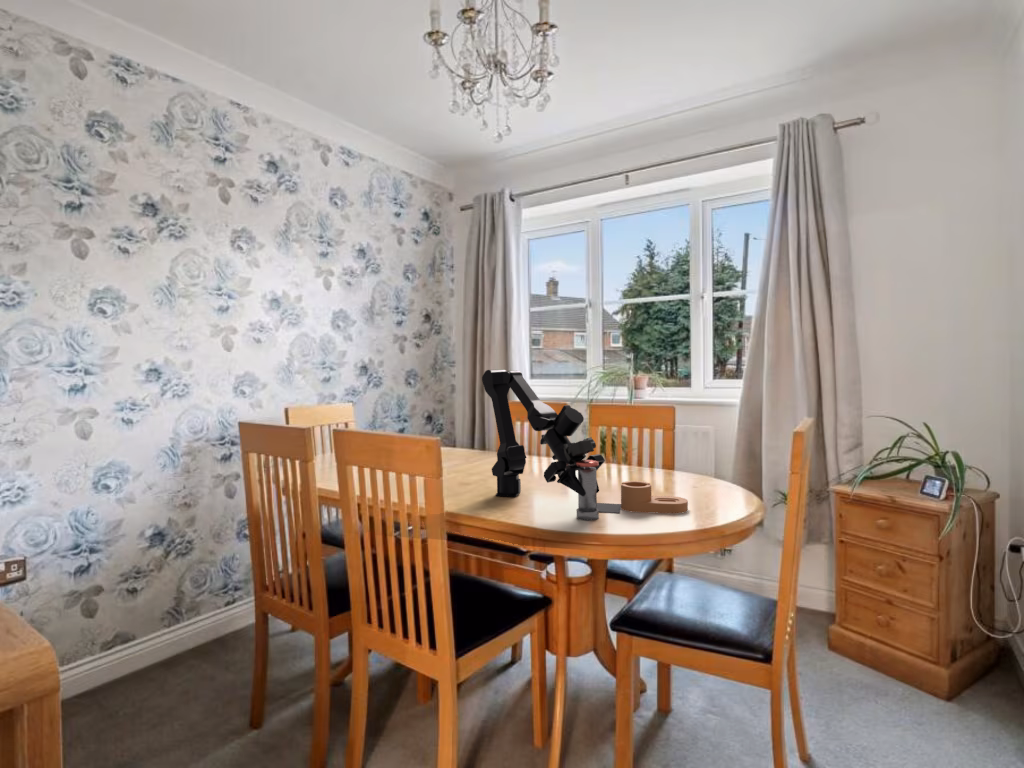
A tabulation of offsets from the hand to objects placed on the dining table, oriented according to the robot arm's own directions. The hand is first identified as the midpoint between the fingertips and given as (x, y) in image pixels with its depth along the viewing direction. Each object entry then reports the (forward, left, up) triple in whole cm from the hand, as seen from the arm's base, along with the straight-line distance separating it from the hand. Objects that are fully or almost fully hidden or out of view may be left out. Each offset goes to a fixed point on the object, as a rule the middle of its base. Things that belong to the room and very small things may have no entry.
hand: (591, 493), depth 148 cm
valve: (-1, +1, -7) cm, 7 cm away
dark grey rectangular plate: (+3, +11, -7) cm, 13 cm away
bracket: (+16, +13, -7) cm, 22 cm away
